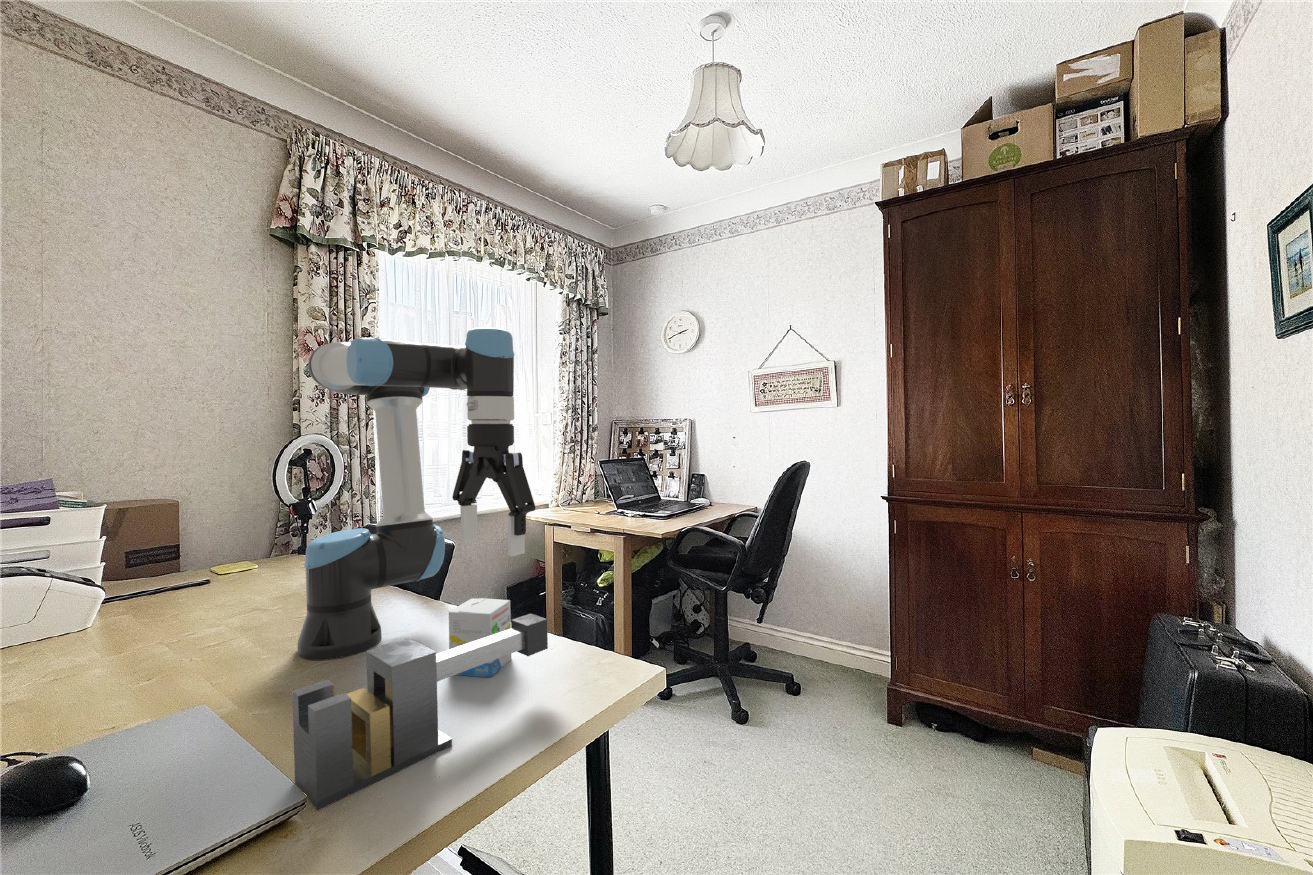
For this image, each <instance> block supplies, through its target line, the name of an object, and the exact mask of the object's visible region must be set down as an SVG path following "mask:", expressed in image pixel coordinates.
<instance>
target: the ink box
mask: <svg viewBox="0 0 1313 875" xmlns="http://www.w3.org/2000/svg"><path fill="white" fill-rule="evenodd" d="M511 620H512V619H511V600H510V599H499V598H498V599H497V598H485V597H482V598H473V597H472V598H469V599H468V600H467V601H465V602H463V603H461V604H459V605H458V606H456V607H454V608H453V609H451V610H449V611H448V650H449V649H452V648H455V647H458V646H461V645H464V644H467V643H470V642H473V641H476V640H479V639H482V638H485V637H488V636H491V635H494V634H497V633H500V632H503V631H505V630H508V629H511ZM511 660H512V653H511V654H509V655H506V656H503V657H501V658H498V659H495V660H493V661H490V662H487V663H485V664H482V665H480V666H477V667H474V668H472V669H469V670H466V671H464V672H461V673H458V674H456V675H458V676H466V677H467V676H469V677H470V676H471V677H481V678H484V677H485V678H492V677H493V676H494V675H495V674H496V673H498V671H499V670H501V669H502V668H503V667H504V666H505V665H506V664H508V662H510V661H511Z"/></svg>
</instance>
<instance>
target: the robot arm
mask: <svg viewBox="0 0 1313 875" xmlns="http://www.w3.org/2000/svg"><path fill="white" fill-rule="evenodd" d="M513 340H514V338H513V335H512V333H511V331H508V330H506V329H503V328H502V329H501V328H495V327H494V328H493V327H475V328H471V329H469V330H468V331H467V332H466V339H465V342H464V345H448V344H436V343H426V342H425V343H423V342H411V341H401V340H393V339H392V340H391V339H381V338H379V337H356V338H354V339H352V340H351V341H338V342H337V341H336V342H330V343H326V344H322V345H319V346H318V347H316V349H314V350H313V351H312V353H311V354H310V356H309V358H308V364H307V369H308V373H309V375H310V376H311V378H312V379H313V381H314V382H315V383H317V384H318V385H319V386H320V387H322V388H324V389H326V390H328V391H331V392H333V393H339V394H343V395H350V396H351V395H353V396H365V397H366V406H368V407H369V408H371V409H372V410H373V411H374V413H375V423H376V424H375V427H376V438H377V440H376V441H377V450H378V451H377V452H378V462H379V464H378V465H379V478H380V491H381V492H380V493H381V503H382V514H383V515H382V517H381V519H380V520H379V521H378V522H377V523H376V533H371V532H370V530H369V529H367V528H363V527H361V528H359V527H357V528H352V529H343V530H339V531H334V532H331V533H327V534H324V535H321V536H319V537H316V538H315V539H313V540H311V541H310V542H309V543H308V544H307V546H306V549H305V559H304V564H303V565H304V569H305V588H306V591H305V592H306V595H305V596H306V616H305V619H304V621H303V623H302V624H303V625H302V628H301V630H300V635H299V636H298V641H297V655H298V656H299V658H302V659H305V660H313V661H317V660H318V661H321V660H322V661H323V660H332V659H333V660H334V659H340V658H345V657H349V656H352V655H356V654H359V653H363V652H365V651H368V650H371V649H373V648H374V647H375V646H376V645H378V644H379V643H380V642H381V640H382V638H383V637H382V626H381V622H379V619H378V616H377V614H376V612H375V609H374V607H373V604H372V591H373V590H375V589H379V588H386V587H389V586H396V585H400V584H401V585H402V584H405V583H406V584H407V583H411V582H419V581H420V580H424V579H428V578H431V577H434V576H435V575H436V574H438V572H439V571H440V569H441V567H442V565H443V563H444V559H445V553H446V552H445V551H446V540H445V536H444V531H443V529H442V527H440V526H439V525H437V524H434V522H433V517H432V516H431V515H429V513H427V512H426V510H425V499H424V488H423V475H422V474H423V473H422V464H421V463H422V462H421V451H420V440H419V429H418V416H417V415H418V414H417V410H418V408H419V407H420V406H421V405H422V404H423V397H425V396H427V395H428V393H429V391H430V388H435V389H437V388H438V389H450V390H458V391H459V390H460V391H463V390H466V397H467V398H466V399H467V402H466V407H467V408H466V410H467V414H466V416H467V417H466V418H467V420H468V421H471V423H469V424H468V425H467V426H466V431H467V432H466V436H467V440H466V441H467V445H468V446H469V447H473V449H472V448H471V449H463V450H462V451H461V452H462V453H461V463H460V467H459V471H458V474H457V478H456V481H455V485H454V489H453V492H452V497H451V498H452V500H453V502H454V501H457V503H458V505H459V506H460V534H461V536H460V538H461V539H460V540H461V541H460V543H461V544H469V543H473V542H477V541H478V505H477V503H478V501H477V500H476V499H477V497H478V495H479V492H480V491H481V489H482V487H483V486H484V484H485V481H486V479H487V478H488V479H489V480H492V481H493V482H494V483H496V484H497V486H498V488H499V490H500V492H501V495H502V496H503V498H504V501H505V502H506V505H507V507H508V509H509V511H510V512H509V513H508V514H507V556H508V557H516V556H519V555H524V554H525V553H526V551H525V550H526V547H525V546H526V544H525V543H526V537H525V535H526V533H527V514H528V513H531V512H534V511H535V510H536V504H535V501H534V497H533V495H532V491H531V488H530V484H529V481H528V477H527V475H526V472H525V469H524V464H523V454H522V452H510V450H509V447H510V446H513V445H514V443H515V426H514V424H513V423H511V421H513V420H514V419H515V399H514V398H515V397H514V389H515V388H514V386H515V385H514V384H515V383H514V382H515V381H514V379H515V377H514V374H515V366H514V364H515V352H514V341H513Z"/></svg>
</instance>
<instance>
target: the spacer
mask: <svg viewBox="0 0 1313 875" xmlns="http://www.w3.org/2000/svg"><path fill="white" fill-rule="evenodd" d="M345 694H346V695H348V696H349V697H350V698H351V713H352V749H353V760H354V761H355V762H356V763H357V764H359V765H360V766H361V767H362V768H363V769H364V770H365V771H366V772H367V773H368V774H369V775H371V776H374V775H376V774H378V773H380V772H382V771H384V770H386V769H388V768H390V767H391V751H390V713H389V706H388V705H387V704H385V703H384V702H383V701H381V700H380V699H378V698H377V697H375V696H374V695H372V694H371V693H369V692H368V691H367V689H365V688H364V687H362V688H359V689H356V690H354V691H350V692H348V693H345Z"/></svg>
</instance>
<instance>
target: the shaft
mask: <svg viewBox="0 0 1313 875" xmlns="http://www.w3.org/2000/svg"><path fill="white" fill-rule="evenodd" d="M548 640H549V639H548V619H547V618H544V617H542V616H540V615H537V614H533V613H528V614H525V615H522V616H519V617H516V618H513V619H511V629H508V630H505V631H503V632H500V633H497V634H494V635H491V636H488V637H485V638H482V639H479V640H476V641H473V642H470V643H467V644H464V645H461V646H458V647H455V648H452V649H449V648H448V649H447V650H444V651H441V652H438V653H436V666H437V682H440V681H442V680H445V679H448V678H450V677H452V676H455V675H456V674H458V673H461V672H464V671H466V670H469V669H472V668H474V667H477V666H480V665H482V664H485V663H487V662H490V661H493V660H495V659H498V658H501V657H503V656H506V655H509V654H511V655H512V654H513V653H516V652H517V653H520V654H521V655H524V656H526V657H530V656H533V655H535V654H538V653H540V652H543V651H544V650H548V646H549V645H548V642H549V641H548Z"/></svg>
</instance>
